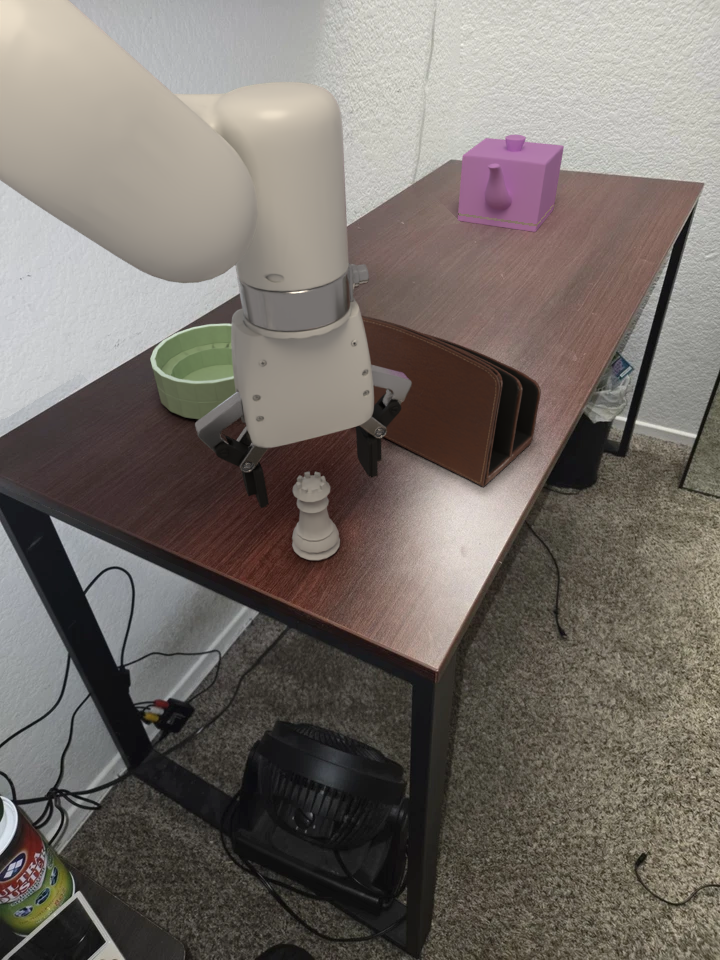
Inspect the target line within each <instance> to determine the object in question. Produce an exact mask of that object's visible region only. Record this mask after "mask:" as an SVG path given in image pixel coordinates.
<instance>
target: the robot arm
mask: <svg viewBox="0 0 720 960" xmlns="http://www.w3.org/2000/svg"><path fill="white" fill-rule="evenodd" d="M342 120H343V119H342V112H341V108H340V106H339V103H338V100H337V99H336V98H335V96H334V95H333V93H331V92H330V91H329V90H327V89H326V88H325V87H322V86H319V85H317V84H314V83H309V82H301V81H272V82H270V81H269V82H261V83H255V84H248V85H244V86H240V87H237V88H234V89H232V90H230V91H228V92H223V93H173V92H172V90H170V89H169V87H167V86H166V85H165V84H163V83H162V82H161V80H159V79H158V78H157V77H155V75H153V74H152V73H151V72H150V71H149V70H148V69H147V68H146V67H145V66H144V65H142V64H141V62H139V61H138V60H137V59H136V58H135V57H133V56H132V55H131V54H130V53H129V52H128V51H127V50H125V48H123V46H121V45H120V44H119V43H118V42H117V41H116V40H114V39H113V38H112V37H111V36H110V35H109V34H108V33H106V32H105V31H104V30H103V29H102V28H101V27H100V26H98V24H96V23H95V22H94V21H93V20H92V19H91V18H90V17H88V16H87V15H86V14H85V13H84V12H83V11H82V10H81V9H79V8H78V7H77V6H76V5H75V4H74V3H72V2H71V1H70V0H0V181H1V182H2V183H4V184H5V185H6V186H7V187H9V188H11V189H12V190H14V191H15V192H16V193H18V194H20V195H21V196H23V198H25V199H27V200H28V201H30V202H31V203H32V204H34V205H36V206H37V207H38V208H40V209H41V210H43V211H45V212H46V213H48V214H49V215H51V216H53V217H54V218H55V219H57V220H58V221H60V222H61V223H63V224H65V225H67V226H68V227H70V228H71V229H73V230H74V231H76V232H77V233H78V234H81V235H82V236H84V237H85V238H87V239H89V240H90V241H92V242H93V243H95V244H96V245H98V246H99V247H101V248H103V249H104V250H106V251H107V252H109V253H111V254H112V255H114V256H115V257H117V258H118V259H120V260H122V261H124V262H125V263H127V264H128V265H130V266H132V267H133V268H135V269H137V270H139V271H140V272H142V273H145V274H147V275H149V276H151V277H153V278H157V279H160V280H163V281H167V282H171V283H179V284H198V283H202V282H206V281H210V280H213V279H216V278H218V277H220V276H222V275H224V274H225V273H227V272H228V271H229V270H231V269H232V268H233V267H235V273H236V280H237V284H238V291H239V297H240V303H241V308H240V309H237V310H236V311H235V312H234V313H233V314H232V316H231V324H232V327H231V349H232V364H233V374H234V383H235V390H236V393H235V394H233V395H232V396H231V397H229V398H228V399H227V400H225V401H224V402H223V403H221V404H220V405H218V406H217V407H216V408H214V409H213V410H212V411H210V412H209V413H208V414H206V415H205V416H203V417H202V418H201V419H197V420H196V422H195V423H194V429H195V432H196V435H197V437H198V438H199V440H201V442H203V443H204V444H205V445H206V446H207V447H208V448H209V449H210V450H212V451H213V452H214V453H215V455H216V457H217V458H218V459H221V460H223V461H226V462H228V463H230V464H232V465H234V466H236V467H238V468H239V469H240V471H241V475H242V480H243V484H244V488H245V489H244V490H245V491H246V494H247V496H248V497H252V496H255V497H256V501H257V503H258V505H259V508H260V509H263V508H267V507H268V505H270V502H269V498H268V497H269V496H268V492H267V484H266V479H265V473H264V470H263V467H262V465H261V460H262V458H264V456H265V454H266V453H267V451H268V450H269V449H271V448H279V447H282V446H287V445H291V444H295V443H299V442H302V441H307V440H311V439H315V438H319V437H322V436H327V435H331V434H334V433H338V432H342V431H346V430H349V429H352V428H355V435H356V436H355V437H356V455H357V456H356V457H357V460H358V461H359V464H360V465H361V466H362V468H363V470H364V472H365V473H366V475H367V477H369V478H372V479H373V478H375V477H378V476H379V473H378V471H379V470H378V469H379V468H378V465H379V464H378V462H380V461H381V462H382V457H383V456H382V452H383V451H382V438H384V436H385V435H386V433H387V428H386V427H387V426H388V425H389V424H390V422H391V421H392V420H393V419H394V418H395V417H396V416H397V414H398V413H399V412H400V411H401V403H402V401H404V399H405V397H406V396H407V394H408V392H409V390H410V388H411V385H412V382H411V380H410V379H409V378H408V377H407V376H406V374H405V373H403V372H399V371H395V370H391V369H387V368H383V367H379V366H375V365H371V361H370V355H369V349H368V343H367V338H366V333H365V328H364V324H363V320H362V316H363V315H362V313H361V309H360V306H359V304H358V302H357V301H356V298H355V297H354V292H355V289H356V288H359V287H360V285H366V284H368V283H369V281H370V275H369V270H368V267H367V265H366V263H362V264H359V265H358V264H357V265H356V264H355V263H350V262H349V243H348V241H349V238H348V220H347V218H348V217H347V199H346V198H347V196H346V174H345V173H346V171H345V152H344V151H345V149H344V130H343V129H344V128H343V121H342ZM361 315H362V316H361ZM373 386H376V387H381V388H385V389H387V390H386V394H384V395H383V396H382V397H381V398H380V399H379V400H378V402H377V403H376V404H375V405H374V387H373ZM239 419H240V420H241V422H242V423H243V424H245V427H244V428H243V430H242V431H241V432H240V434H239V436H238V437H237V438H236V439H234V438H232V437H230V436H228V435H226V434H223V433H222V432H223V431H224V430H226V429H227V428H228V427H230V426H231V425H232V424H234V423H235V422H237V421H238V420H239Z"/></svg>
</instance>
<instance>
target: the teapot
mask: <svg viewBox="0 0 720 960" xmlns="http://www.w3.org/2000/svg"><path fill="white" fill-rule="evenodd" d="M526 139H527V137H526V136H524V135H522V134H508V135H506V136H505V137H504V139H501V138H493V137H492V138H491V137H485V138H484V139H483V140H481V141H480V142H478V143H476V144H475V145H474V146H473V147H472V148H470V149H469V150H468V151H467V152H465V153H463V155H462V156H461V157H462V158H461V171H460V173H461V174H460V185H459V198H458V209H457V211H458V212H457V221H458V222H465V223H472V224H477V225H483V226H484V225H485V226H492V227H498V228H505V229H512V230H518V231H526V232H532V233H536V232H537V231H538V230H539V229H540V227H541V226H542V225H543V224H544V223H545V221H546V220H547V219H548V218H549V217H550V215H551V214H552V213H553V212H554V208H555V201H556V198H557V197H556V196H557V190H558V184H559V179H560V172H561V166H562V160H563V155H564V149H565V148H564V145H562V144H553V143H551V144H550V143H542V142H531V141H526ZM553 204H554V206H553V207H552V208H551V210H550V211H549V212H548V213H547V214H546V216H545V217H544V218H543V219H542V220H541V218H542V217H543V216H544V215H545V213H546V212H547V211H548V210H549V209H550V207H551V206H552V205H553ZM458 213H461V214H469V215H476V216H482V217H489V218H497V219H504V220H511V221H518V222H524V223H533V224H537V223H538V222H539V221H540V220H541V222H540V223H539V224H538V225H537V227H536V226H529V225H522V224H515V223H508V222H501V221H494V220H487V219H480V218H473V217H466V216H459V215H458Z"/></svg>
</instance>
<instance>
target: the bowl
mask: <svg viewBox="0 0 720 960" xmlns="http://www.w3.org/2000/svg"><path fill="white" fill-rule="evenodd" d="M231 327H232V323H209V324H204V325H198V326H193V327H189V328H187V329H184V330H181V331H177V332H175V333H173V334H172V335H170V336H167V337H166V338H164V339H163V340H161V341H160V343H158V345H156V346H155V347H154V349H153V350H152V353H151V355H150V358H149V360H150V365H151V369H152V372H153V376H154V381H155V383H156V389H157V392H158V395H159V399H160V400H159V401H160V403H161V404H162V406H164V407H165V408H166V409H167V410H168V411H169V412H171V413H173V414H175V415H177V416H180V417H183V418H187V419H195V420H199V419H201V418H202V417H203V416H205V415H206V414H208V413H209V412H210V411H212V410H213V409H214V408H216V407H217V406H218V405H220V404H221V403H223V402H224V401H225V400H227V399H228V398H229V397H231V396H232V395H233V394H235V393H236V390H235V383H234V374H233V364H232V349H231Z"/></svg>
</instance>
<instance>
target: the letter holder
mask: <svg viewBox="0 0 720 960" xmlns="http://www.w3.org/2000/svg"><path fill="white" fill-rule="evenodd" d="M361 316H362V320H363V324H364V328H365V333H366V338H367V343H368V349H369V355H370V361H371V365H375V366H379V367H383V368H387V369H391V370H395V371H399V372H403V373H405V374H406V376H407V377H408V378H409V379H410V380H411V382H412V385H411V388H410V390H409V392H408V394H407V396H406V397H405V399H404V401H402V403H401V411H400V412H399V413H398V414H397V416H396V417H395V418H394V419H393V420H392V421H391V422H390V424H389V425H388V426H387V427H386V428H387V433H386V435H385V436H384V437H383V438H385V439H386V440H388V441H390V442H392V443H394V444H396V445H398V446H400V447H402V448H404V449H406V450H408V451H410V452H412V453H414V454H416V455H418V456H420V457H422V458H424V459H425V460H428V461H431V462H433V464H436V465H438V466H440V467H442V468H444V469H446V470H447V471H450V472H452V473H454V474H456V475H458V476H460V477H462V478H464V479H466V480H469V481H471V482H472V483H474V484H476V485H478V486H480V487H481V488H486V486H487V485H488V484H489V483H490V482H491V481H492V480H493V479H494V478H495V477H496V476H498V474H500V473H501V472H502V471H503V470H504V469H505V468H506V467H507V466H508V465H510V463H511V462H513V460H515V459H516V458H517V457H518V456H519V455H520V454H521V453H522V452H523V451H525V449H526V448H527V447H529V446H530V444H531V443H533V440H534V435H535V429H536V424H537V416H538V412H539V411H538V410H539V405H540V401H541V395H542V389H541V387H540V384H539V383H538V382H537V381H536V380H535V379H533V378H532V377H530V376H529V375H528V374H525V373H524V372H522V371H520V370H518V369H516V368H514V367H512V366H509V365H508V364H506V363H503V362H501V361H499V360H498V359H495V358H492V357H490V356H488V355H486V354H484V353H481V352H479V351H476V350H474V349H471V348H469V347H467V346H463V345H461V344H458V343H455V342H453V341H450V340H447V339H444V338H440V337H438V336H434V335H431V334H427V333H423V332H420V331H418V330H416V329H412V328H410V327H407V326H404V325H401V324H398V323H394V322H390V321H387V320H383V319H381V318H380V319H379V318H374V317H371V316H366V315H362V314H361ZM373 387H374V405H375V404H376V403H377V402H378V400H379V399H380V398H381V397H382V396H383V395H384V394H386V390H387V389H385V388H381V387H376V386H373Z"/></svg>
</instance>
